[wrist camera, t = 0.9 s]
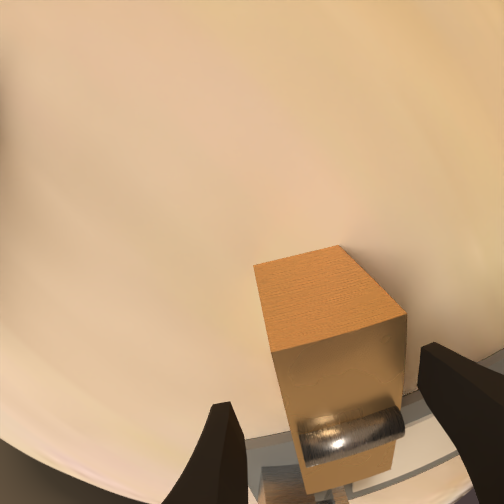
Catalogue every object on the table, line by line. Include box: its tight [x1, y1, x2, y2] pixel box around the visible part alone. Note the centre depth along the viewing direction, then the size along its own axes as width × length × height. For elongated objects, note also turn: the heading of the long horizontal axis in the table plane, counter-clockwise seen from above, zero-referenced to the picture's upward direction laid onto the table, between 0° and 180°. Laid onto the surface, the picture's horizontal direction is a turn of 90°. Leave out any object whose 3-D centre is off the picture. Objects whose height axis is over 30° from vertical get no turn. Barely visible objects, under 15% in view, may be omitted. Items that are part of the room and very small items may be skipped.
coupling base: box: [245, 349, 504, 502], centre depth 18 cm, size 25×11×1 cm, turn 103°
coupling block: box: [253, 245, 407, 495], centre depth 11 cm, size 4×8×7 cm, turn 13°
